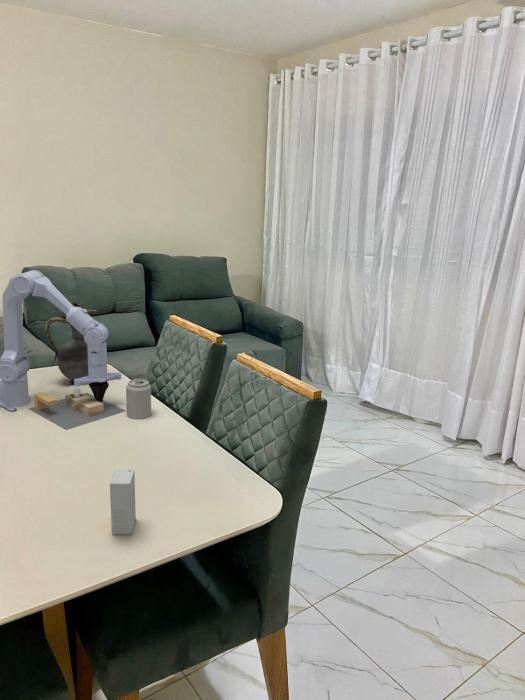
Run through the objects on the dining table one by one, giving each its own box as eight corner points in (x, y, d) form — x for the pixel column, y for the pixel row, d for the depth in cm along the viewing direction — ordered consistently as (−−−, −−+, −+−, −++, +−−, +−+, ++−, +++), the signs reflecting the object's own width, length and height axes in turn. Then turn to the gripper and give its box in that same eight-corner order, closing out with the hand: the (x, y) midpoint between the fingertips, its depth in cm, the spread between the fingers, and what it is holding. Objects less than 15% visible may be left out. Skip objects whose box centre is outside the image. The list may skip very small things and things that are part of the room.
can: (154, 413, 173) (153, 378, 169) (147, 423, 166) (146, 386, 162) (131, 412, 173) (130, 376, 170) (123, 421, 166) (122, 384, 163)
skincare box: (115, 518, 117) (114, 468, 114) (136, 518, 117) (135, 468, 114) (110, 535, 111) (109, 483, 108) (131, 535, 112) (130, 483, 108)
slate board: (28, 411, 169) (26, 393, 168) (87, 395, 185) (86, 378, 183) (66, 433, 156) (65, 413, 154) (126, 413, 172) (126, 396, 170)
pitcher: (104, 387, 194) (101, 304, 185) (47, 389, 188) (42, 305, 180) (103, 377, 204) (101, 298, 195) (49, 379, 198) (44, 299, 190)
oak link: (65, 404, 174) (65, 395, 173) (79, 400, 178) (79, 391, 177) (89, 417, 165) (89, 408, 164) (103, 412, 169) (103, 403, 168)
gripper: (78, 370, 162) (80, 412, 165) (124, 363, 170) (125, 403, 174) (71, 363, 167) (72, 404, 171) (115, 357, 175) (116, 396, 179)
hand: (98, 403), depth 173 cm, fingers closed
